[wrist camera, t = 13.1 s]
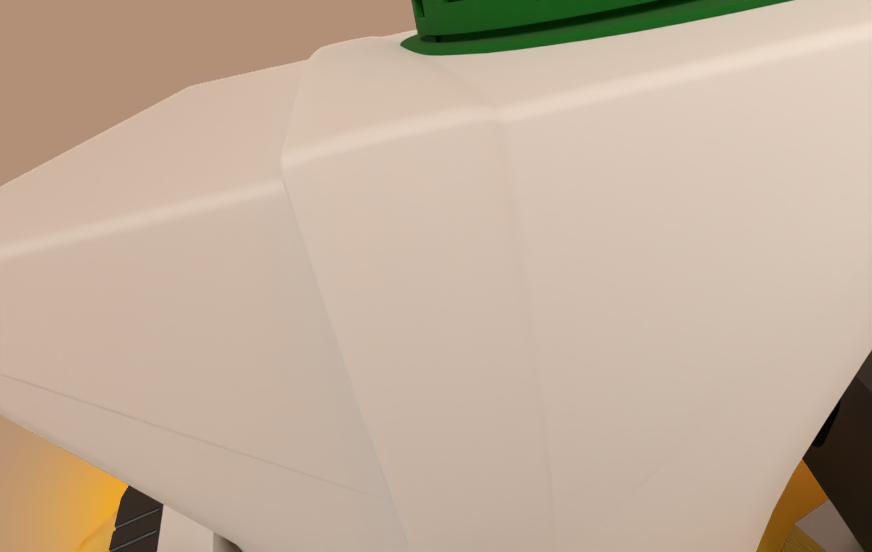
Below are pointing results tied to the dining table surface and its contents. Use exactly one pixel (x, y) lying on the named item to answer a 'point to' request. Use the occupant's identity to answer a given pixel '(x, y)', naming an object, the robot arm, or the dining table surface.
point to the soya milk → (465, 280)
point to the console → (821, 533)
